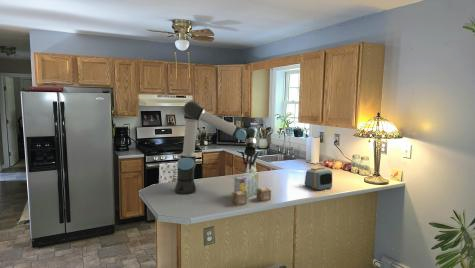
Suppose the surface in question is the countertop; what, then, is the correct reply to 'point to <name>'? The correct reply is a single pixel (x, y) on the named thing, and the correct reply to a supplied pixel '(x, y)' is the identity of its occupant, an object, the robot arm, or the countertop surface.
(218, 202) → the countertop surface
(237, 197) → the walnut block
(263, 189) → the walnut block
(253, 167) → the toy
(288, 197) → the countertop surface
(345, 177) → the countertop surface
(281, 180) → the countertop surface
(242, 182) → the snack box
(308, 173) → the alarm clock
